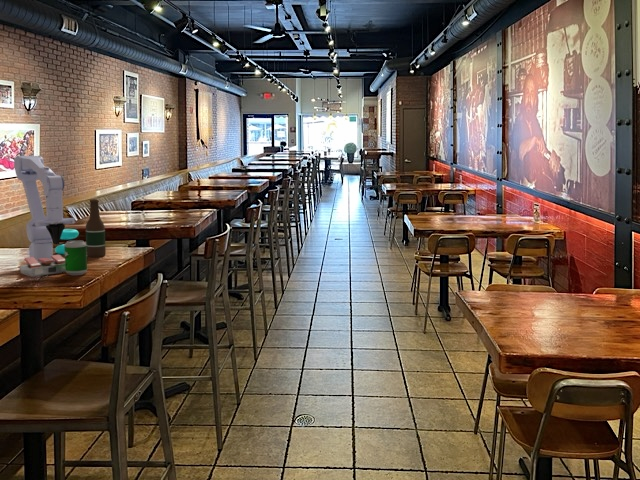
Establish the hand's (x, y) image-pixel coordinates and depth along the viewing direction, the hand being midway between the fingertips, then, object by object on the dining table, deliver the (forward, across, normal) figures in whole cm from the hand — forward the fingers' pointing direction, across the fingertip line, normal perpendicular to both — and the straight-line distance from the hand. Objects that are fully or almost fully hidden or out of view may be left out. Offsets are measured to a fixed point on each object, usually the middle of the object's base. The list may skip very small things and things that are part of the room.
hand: (56, 244), depth 246 cm
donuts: (+10, +22, +33) cm, 41 cm away
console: (+10, -5, -1) cm, 11 cm away
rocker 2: (+6, -5, -1) cm, 8 cm away
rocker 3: (+6, 0, -1) cm, 6 cm away
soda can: (+10, +1, -12) cm, 15 cm away
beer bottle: (+10, +26, +18) cm, 34 cm away
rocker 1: (+6, -10, -1) cm, 11 cm away
